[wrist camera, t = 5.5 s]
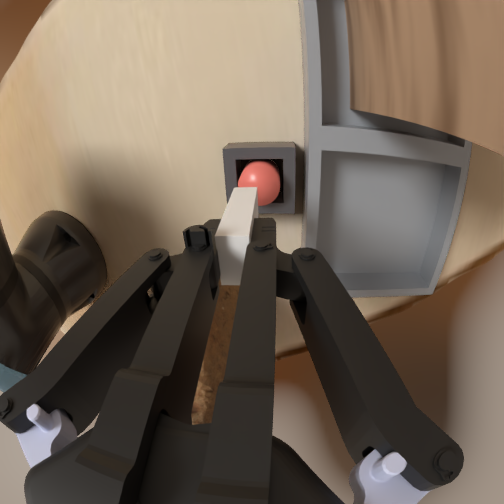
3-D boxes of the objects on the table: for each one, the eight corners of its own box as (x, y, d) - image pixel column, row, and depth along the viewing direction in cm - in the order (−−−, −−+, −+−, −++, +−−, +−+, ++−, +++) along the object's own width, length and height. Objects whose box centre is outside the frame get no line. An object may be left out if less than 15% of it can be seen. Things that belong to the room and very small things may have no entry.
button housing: (233, 201, 27) (228, 213, 25) (228, 143, 24) (222, 148, 21) (293, 201, 26) (294, 213, 24) (293, 141, 23) (295, 147, 21)
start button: (244, 192, 26) (239, 206, 23) (242, 157, 24) (236, 166, 21) (280, 191, 25) (280, 205, 22) (279, 157, 23) (279, 166, 20)
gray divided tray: (299, 274, 31) (301, 297, 28) (296, -19, 14) (299, -36, 11) (420, 274, 29) (432, 294, 26) (446, 14, 13) (466, 8, 9)
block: (270, 308, 34) (258, 463, 17) (220, 322, 37) (188, 460, 20) (229, 240, 30) (175, 417, 13) (175, 262, 32) (103, 412, 15)
